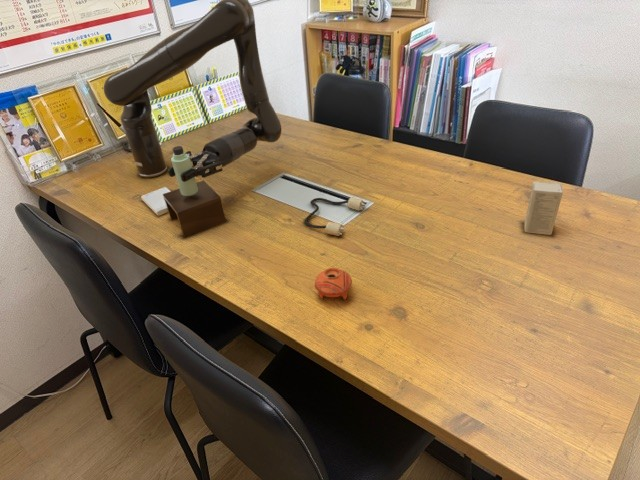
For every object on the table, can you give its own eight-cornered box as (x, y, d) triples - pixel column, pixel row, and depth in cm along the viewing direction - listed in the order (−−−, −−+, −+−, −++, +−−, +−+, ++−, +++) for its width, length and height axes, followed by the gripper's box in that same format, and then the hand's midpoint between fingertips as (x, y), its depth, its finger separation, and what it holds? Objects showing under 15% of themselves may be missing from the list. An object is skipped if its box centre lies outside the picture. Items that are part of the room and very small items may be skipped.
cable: (288, 227, 119) (287, 216, 117) (316, 198, 130) (315, 187, 128) (341, 240, 113) (341, 229, 110) (366, 208, 124) (366, 197, 122)
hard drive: (140, 196, 135) (156, 211, 127) (166, 186, 139) (182, 200, 131) (142, 200, 136) (158, 216, 128) (167, 190, 140) (184, 205, 132)
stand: (170, 218, 127) (162, 194, 122) (209, 204, 132) (203, 180, 127) (184, 237, 118) (177, 212, 114) (226, 221, 123) (220, 196, 119)
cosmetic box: (550, 226, 111) (562, 183, 104) (551, 236, 108) (564, 192, 101) (523, 222, 113) (533, 180, 106) (523, 232, 110) (533, 189, 103)
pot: (327, 312, 92) (320, 284, 89) (313, 296, 99) (307, 270, 96) (361, 298, 94) (355, 271, 92) (345, 283, 101) (340, 257, 98)
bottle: (178, 190, 120) (165, 147, 113) (194, 185, 122) (183, 142, 115) (184, 197, 117) (171, 153, 110) (200, 192, 119) (189, 148, 111)
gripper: (204, 132, 126) (154, 156, 116) (240, 143, 119) (189, 169, 108) (210, 156, 131) (162, 181, 120) (244, 168, 123) (197, 196, 113)
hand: (175, 175), depth 114 cm, fingers closed on bottle, 4 cm apart
